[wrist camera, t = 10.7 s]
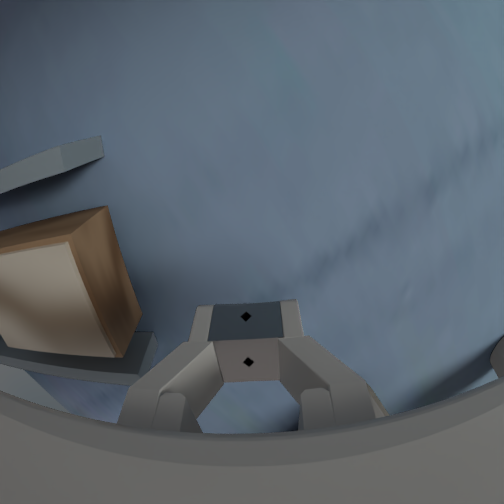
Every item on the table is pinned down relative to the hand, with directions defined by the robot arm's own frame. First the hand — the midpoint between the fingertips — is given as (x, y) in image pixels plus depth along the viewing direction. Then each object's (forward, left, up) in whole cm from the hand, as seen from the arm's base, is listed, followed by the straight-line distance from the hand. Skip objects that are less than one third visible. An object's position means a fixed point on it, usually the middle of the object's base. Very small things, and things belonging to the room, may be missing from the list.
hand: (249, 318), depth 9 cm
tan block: (+1, -12, -8) cm, 14 cm away
